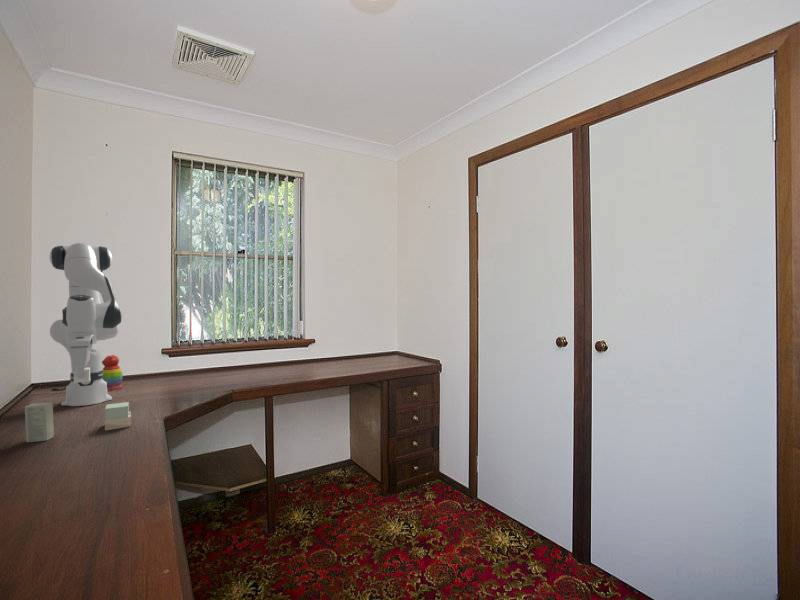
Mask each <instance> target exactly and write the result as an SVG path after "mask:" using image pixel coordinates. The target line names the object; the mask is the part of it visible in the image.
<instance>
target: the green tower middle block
mask: <svg viewBox="0 0 800 600" xmlns="http://www.w3.org/2000/svg"><path fill="white" fill-rule="evenodd" d="M129 408H130V403H129V401H123V402H119V403H118V402H117V403H110V404H109V403H108V404H106V406H105V408H104V417H105V418H104V421H105V420H108V419H115V418H123V417H128V415H129V412H130V409H129Z"/></svg>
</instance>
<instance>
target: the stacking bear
mask: <svg viewBox="0 0 800 600" xmlns="http://www.w3.org/2000/svg"><path fill="white" fill-rule="evenodd" d="M101 361H102V366H104V367H102V370H103V378H102V379H103V380H104V381H105V382H107V390H108V392H110V390H112V391H118V390H121V389H123V385H122V381H123V378H124V377H123V371H122V370H123V369H122V368H121V367H120V366H119V363H120V358H119V356H118V355H115V354H112V355H107V356H106V357H104V359H102V360H101ZM120 388H121V389H120ZM117 389H118V390H117Z"/></svg>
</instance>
